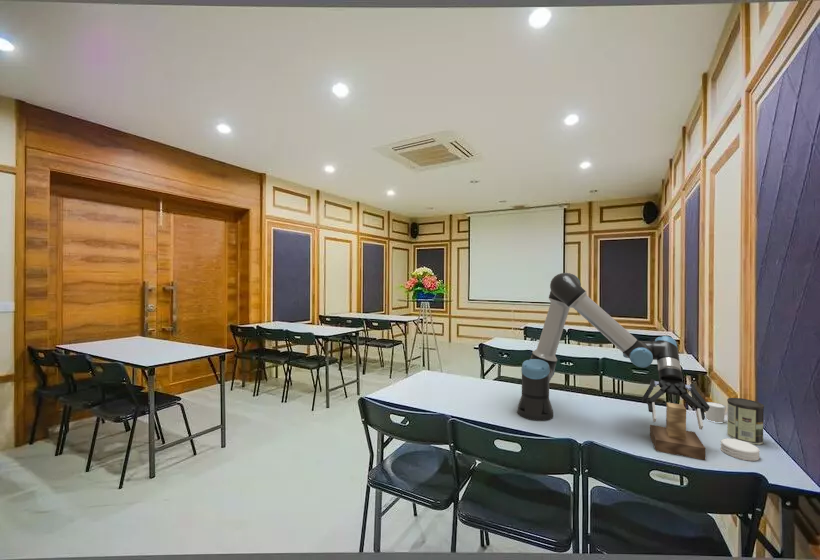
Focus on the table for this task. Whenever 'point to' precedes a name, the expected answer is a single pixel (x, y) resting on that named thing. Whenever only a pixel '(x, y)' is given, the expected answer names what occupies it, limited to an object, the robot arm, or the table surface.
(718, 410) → the white tapered cup
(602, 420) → the table surface
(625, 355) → the robot arm
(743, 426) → the coffee can
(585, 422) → the table surface
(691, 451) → the walnut block
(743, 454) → the coaster
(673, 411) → the oak block
